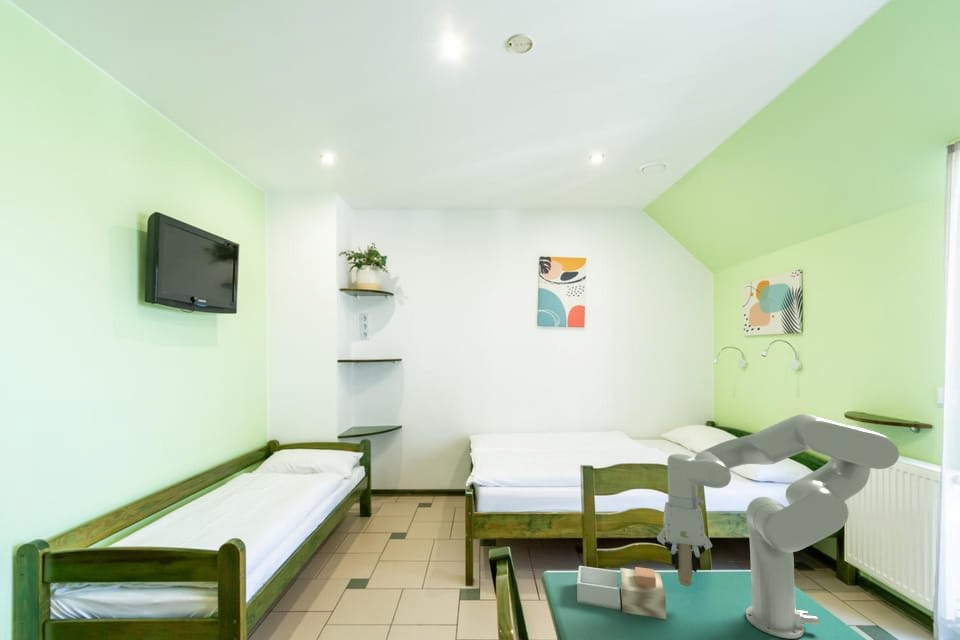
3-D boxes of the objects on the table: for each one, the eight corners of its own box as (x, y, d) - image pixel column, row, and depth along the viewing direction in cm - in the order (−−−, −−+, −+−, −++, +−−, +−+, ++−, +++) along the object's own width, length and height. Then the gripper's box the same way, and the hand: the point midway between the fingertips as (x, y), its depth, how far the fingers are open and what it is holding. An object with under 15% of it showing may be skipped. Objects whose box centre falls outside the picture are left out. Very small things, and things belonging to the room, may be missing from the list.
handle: (700, 589, 116) (699, 532, 117) (676, 587, 117) (674, 531, 118) (694, 580, 121) (692, 525, 122) (670, 578, 122) (669, 524, 123)
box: (619, 589, 128) (618, 571, 129) (620, 609, 118) (620, 589, 119) (579, 584, 131) (579, 565, 132) (577, 602, 122) (577, 583, 122)
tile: (653, 578, 124) (653, 569, 124) (655, 587, 119) (655, 578, 119) (635, 575, 125) (635, 566, 125) (636, 584, 120) (636, 575, 120)
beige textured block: (660, 594, 126) (659, 573, 126) (666, 619, 114) (665, 595, 115) (620, 588, 129) (620, 567, 129) (622, 612, 117) (622, 589, 118)
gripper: (712, 499, 122) (715, 566, 121) (649, 493, 126) (651, 558, 125) (719, 508, 115) (722, 580, 113) (652, 502, 119) (654, 570, 118)
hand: (684, 567), depth 119 cm, fingers closed on handle, 4 cm apart
